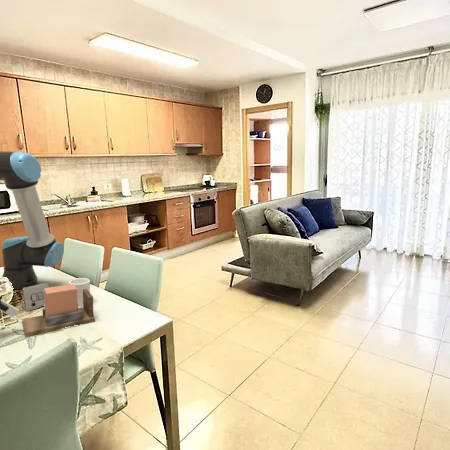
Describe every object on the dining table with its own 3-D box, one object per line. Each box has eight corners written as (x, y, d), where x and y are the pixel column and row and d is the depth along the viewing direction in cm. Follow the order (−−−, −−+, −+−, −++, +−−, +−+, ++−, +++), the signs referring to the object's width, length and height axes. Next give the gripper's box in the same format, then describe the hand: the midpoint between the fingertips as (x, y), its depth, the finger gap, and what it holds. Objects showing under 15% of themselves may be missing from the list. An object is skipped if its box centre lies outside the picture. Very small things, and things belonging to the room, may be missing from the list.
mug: (84, 295, 146) (83, 274, 145) (93, 303, 137) (92, 281, 136) (64, 298, 141) (64, 277, 140) (72, 308, 132) (72, 285, 131)
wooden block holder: (25, 337, 109) (23, 310, 107) (22, 323, 118) (20, 298, 117) (94, 321, 122) (94, 297, 120) (87, 309, 131) (86, 287, 130)
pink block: (47, 323, 115) (46, 293, 113) (45, 316, 120) (43, 288, 118) (77, 316, 121) (76, 288, 119) (74, 310, 126) (73, 283, 124)
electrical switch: (26, 312, 127) (24, 289, 126) (21, 309, 131) (19, 287, 130) (51, 305, 135) (49, 283, 134) (46, 302, 138) (44, 281, 137)
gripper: (-61, 277, 103) (5, 315, 115) (-66, 290, 92) (7, 330, 105) (-41, 259, 105) (22, 298, 117) (-44, 270, 95) (26, 311, 107)
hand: (15, 313), depth 111 cm, fingers closed
